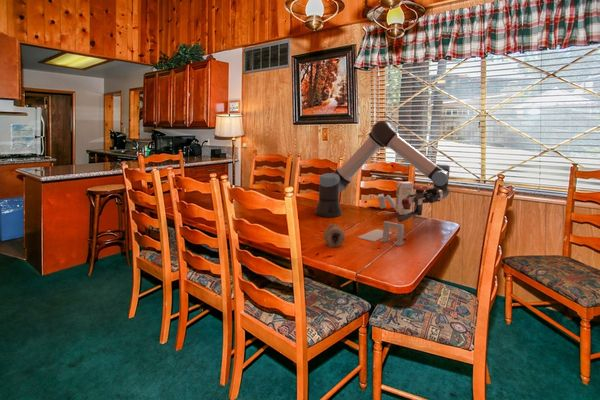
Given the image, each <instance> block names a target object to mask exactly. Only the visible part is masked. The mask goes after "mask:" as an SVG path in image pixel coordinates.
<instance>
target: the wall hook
mask: <svg viewBox="0 0 600 400" xmlns="http://www.w3.org/2000/svg"><path fill="white" fill-rule="evenodd" d="M377 198H378V205H379V208H380V209H383V210H384V209H386V208H387V206H386V201H387V203H389V205H390V207H391V208H392V209H396V201H394V199H393V198H392V197H391V195H389V194H387V195H386V196H385V195H384V193H381V194H377Z"/></svg>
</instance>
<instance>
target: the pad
mask: <svg viewBox="0 0 600 400" xmlns="http://www.w3.org/2000/svg"><path fill="white" fill-rule="evenodd" d="M392 234H394V233H393V232H391V231H389V236H390V235H392ZM357 239H361V240H365V241H369V242H372V243H375V242H377V241H381V240H382V239H383V229H378V228H376V229H373V230H371V231H369V232H368V231H367V232H366V233H364V234H361V235H359V236H357Z"/></svg>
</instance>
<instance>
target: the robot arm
mask: <svg viewBox="0 0 600 400" xmlns="http://www.w3.org/2000/svg"><path fill="white" fill-rule="evenodd" d="M399 135H400V134H399V132H398V128H397V126H396V124H395V123H394V122H392V121H390V120H389V119H388V120H387V119H386V120H378V121H376V122H375V123H374V124H373V126H372V128H371V131H370V132H369V133H368V138H367V139H366V140H365V141H364V142H363V144H362V145H361V146H359V148H358V149H357V150H356V151H355V152H354V153H353V154H352V156H351V157H350V158H349V159H348V160H347V161H346V162H344V164H343V165H342V166H341V167H337V168H336V169H335V170H334V172H333V171H332V172H328V173H323V174H321V175H319V181H318V184H319V186H318V189H319V190H318V203H317V205H316V208H315V215H316V214H317V216H318V215H319V217H323V216H324V217H325V218H333V217H334V218H337V217H340V216H342V208H341V204H340V193H341V192H344V191H345V190H346V189H347V187H348V186H349V184H351V182H352V181H353V177H354V175H356V174H357V172H358V171H360V169H361V168H362V167H363V166H364V165H365V164H366V163H367V162H368V161H369V160H370V159H371V158H372V156H374V155H375V154H376V152H377V151H379V149H383V148H386V149H387V148H389V149H391V151H393V152H394V153H396V154H397V155H398V156H399V157H401V158H402V159H404V160H405V161H406V162H408V163H409V164H410V165H411V166H413V167H414V168H415V169H417V171H419V172H421V173H422V174H423V175H424V176H426V178H428V179H429V180H430V181H432V183H433V186H432V187H431V188H428V189H427V190H424V197H423V198H421V199H418V205H421V204H423V205H424V204H428V203H429V204H434V203H437V202H441V200H443V199H446V198H447V197H448V196H449V195H450V192H451V191H450V187H449V179H450V171H451V170H450V167H451V166H450V164H446V163H437V164H435V162H433V161H431V159H429V158H428V157H426V155H424V154H423V153H421V152H420V151H419V150H417V149H416V148H415V147H414V146H412V145H411V144H409V142H407V141H406V140H404V139H403V138H402V137H400V136H399ZM409 203H412V204H413V203H415V193H413V194H412V195H410V198H409ZM336 216H337V217H336ZM324 217H323V218H324Z"/></svg>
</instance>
